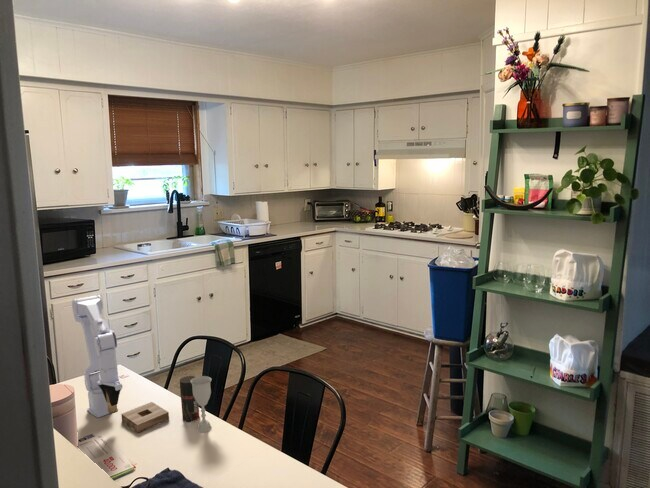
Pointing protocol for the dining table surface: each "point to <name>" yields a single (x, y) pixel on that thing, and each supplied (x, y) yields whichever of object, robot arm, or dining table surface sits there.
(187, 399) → the deodorant
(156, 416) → the socket block
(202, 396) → the chalice
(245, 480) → the dining table surface
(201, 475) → the dining table surface
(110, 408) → the pin
